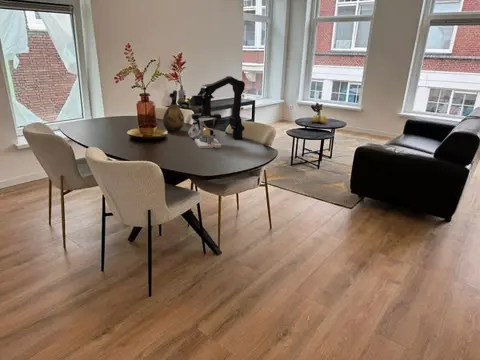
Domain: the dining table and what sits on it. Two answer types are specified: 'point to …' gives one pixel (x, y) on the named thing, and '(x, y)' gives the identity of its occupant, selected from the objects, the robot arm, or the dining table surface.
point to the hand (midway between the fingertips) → (206, 129)
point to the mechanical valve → (195, 131)
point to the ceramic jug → (173, 116)
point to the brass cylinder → (206, 132)
